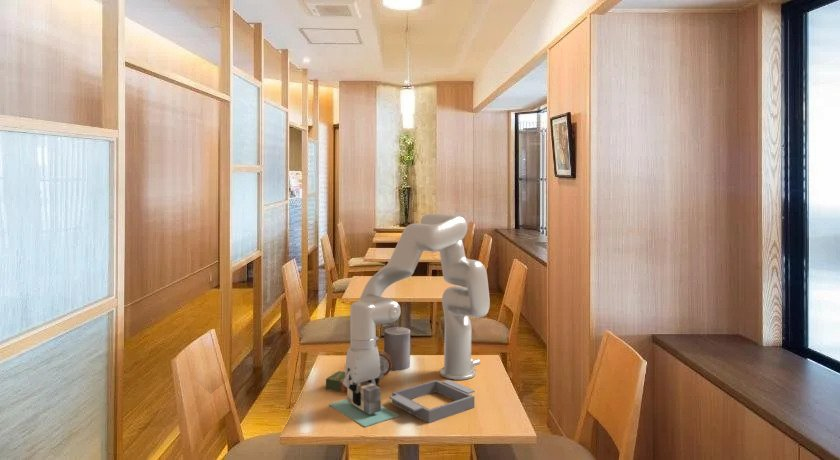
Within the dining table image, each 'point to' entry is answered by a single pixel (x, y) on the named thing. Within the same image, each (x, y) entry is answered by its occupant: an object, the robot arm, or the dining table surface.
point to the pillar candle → (398, 346)
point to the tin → (385, 362)
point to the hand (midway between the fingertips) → (363, 401)
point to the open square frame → (430, 415)
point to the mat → (363, 413)
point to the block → (367, 397)
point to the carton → (338, 382)
